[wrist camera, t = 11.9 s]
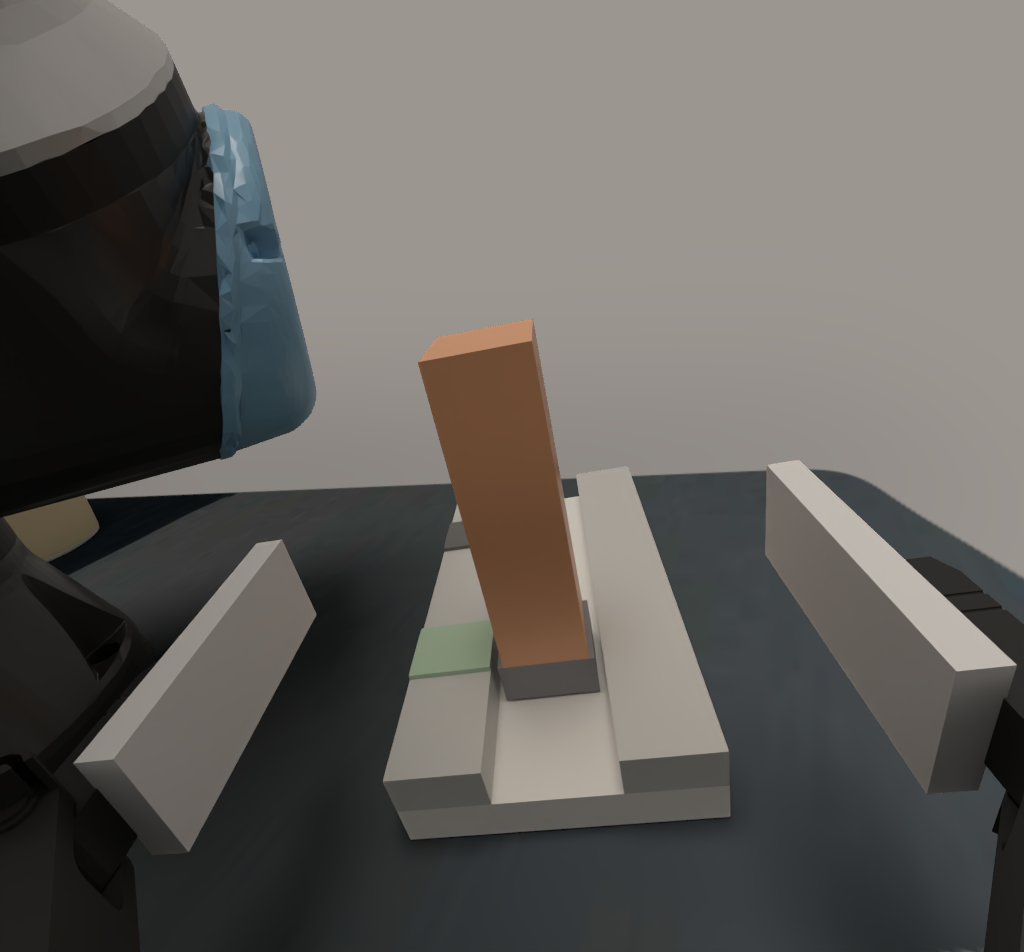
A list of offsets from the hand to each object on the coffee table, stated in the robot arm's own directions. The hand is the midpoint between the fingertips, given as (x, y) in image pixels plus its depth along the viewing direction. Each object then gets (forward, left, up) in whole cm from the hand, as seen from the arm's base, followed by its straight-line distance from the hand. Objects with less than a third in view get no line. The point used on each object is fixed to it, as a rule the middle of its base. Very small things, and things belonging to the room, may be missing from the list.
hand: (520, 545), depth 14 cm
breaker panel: (-3, +6, -9) cm, 11 cm away
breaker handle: (-1, +3, -7) cm, 8 cm away
